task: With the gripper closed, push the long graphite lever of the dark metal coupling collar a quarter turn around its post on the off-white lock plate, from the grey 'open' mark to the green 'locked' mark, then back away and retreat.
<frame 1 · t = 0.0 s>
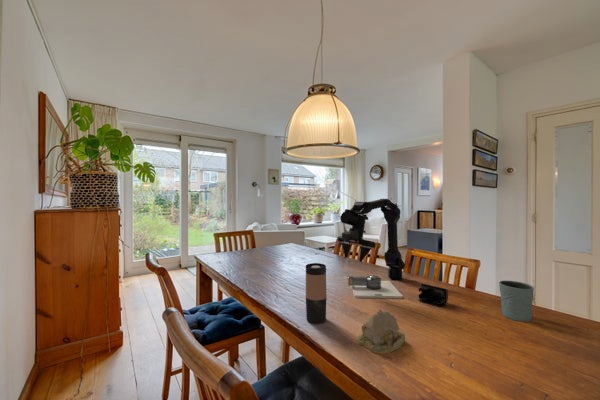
hand: (352, 259, 122), 15 cm above the table, tool pointing down, fingers open, 9 cm apart
travel mug: (316, 320, 96), on the table
end cap: (432, 302, 111), on the table
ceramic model: (380, 343, 81), on the table
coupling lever: (364, 281, 126), point 4 cm above the table, hinge at 0.0°
lock plate: (373, 289, 126), on the table
green cup: (515, 316, 98), on the table
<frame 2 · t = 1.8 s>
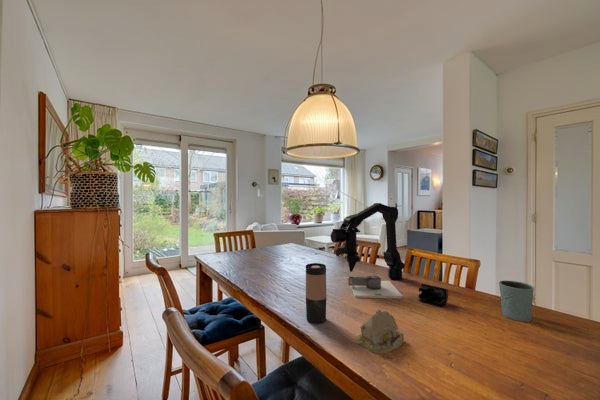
hand: (351, 271, 133), 7 cm above the table, tool pointing down, fingers closed
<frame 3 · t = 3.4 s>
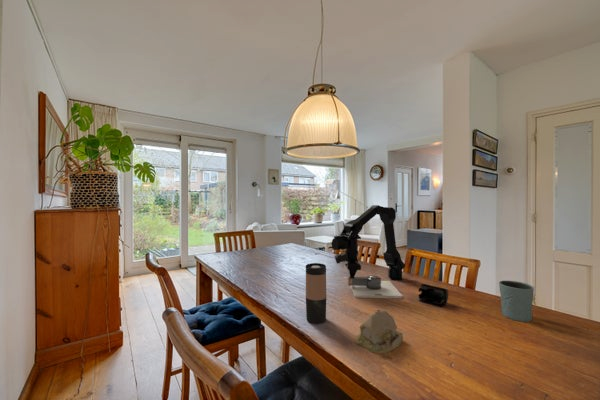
hand: (351, 279, 129), 4 cm above the table, tool pointing down, fingers closed
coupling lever: (364, 281, 126), point 4 cm above the table, hinge at 0.0°, touching gripper
everything else where it was.
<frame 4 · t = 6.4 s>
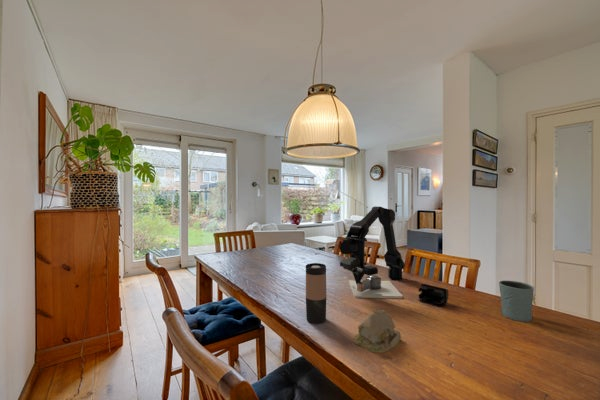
hand: (357, 284, 121), 4 cm above the table, tool pointing down, fingers closed
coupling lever: (368, 283, 123), point 4 cm above the table, hinge at 46.9°, touching gripper
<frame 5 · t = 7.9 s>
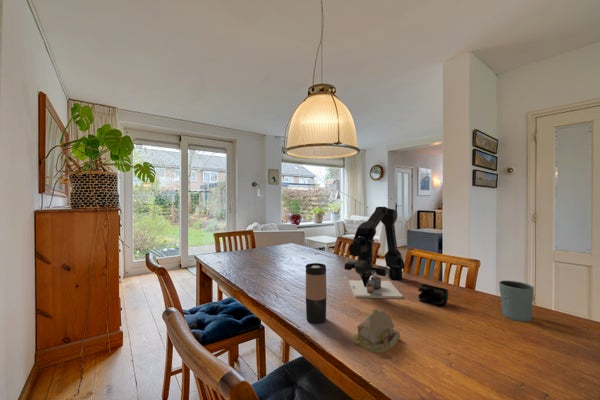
hand: (365, 287, 118), 4 cm above the table, tool pointing down, fingers closed
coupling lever: (372, 284, 122), point 4 cm above the table, hinge at 70.4°, touching gripper
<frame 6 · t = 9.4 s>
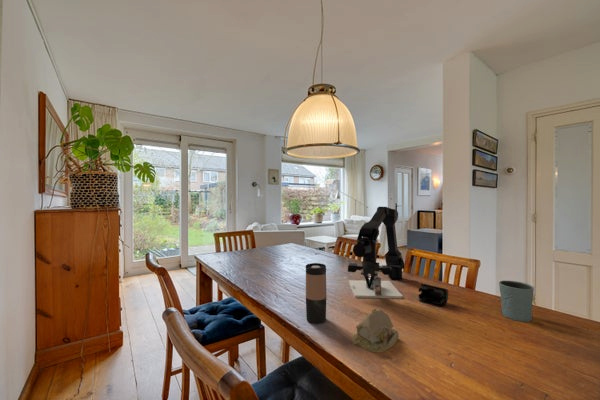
hand: (369, 287, 117), 4 cm above the table, tool pointing down, fingers closed
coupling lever: (375, 284, 122), point 4 cm above the table, hinge at 87.3°
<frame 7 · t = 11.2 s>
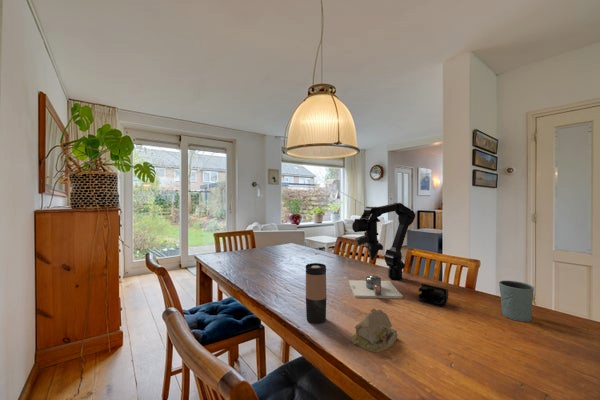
hand: (372, 260, 137), 12 cm above the table, tool pointing down, fingers closed
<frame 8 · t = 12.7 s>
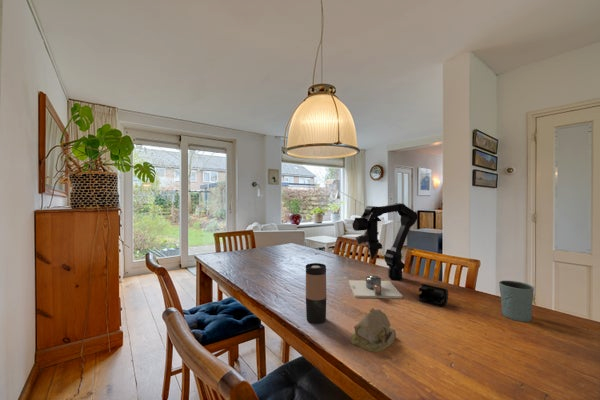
hand: (372, 259, 138), 12 cm above the table, tool pointing down, fingers closed
at the end: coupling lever at +87° (first picture: +0°) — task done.
